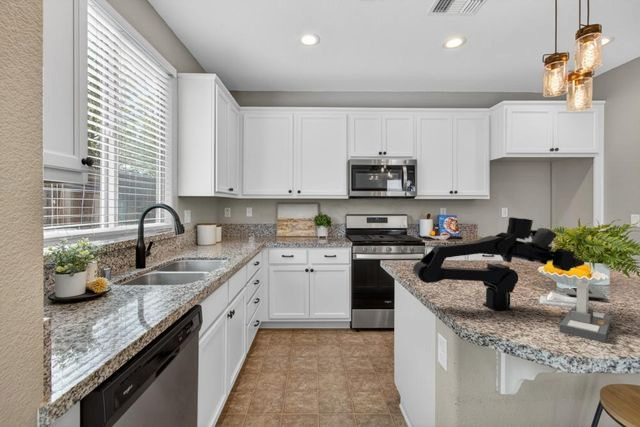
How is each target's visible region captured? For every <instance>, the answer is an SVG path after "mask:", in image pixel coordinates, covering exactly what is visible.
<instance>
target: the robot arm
mask: <svg viewBox="0 0 640 427" xmlns="http://www.w3.org/2000/svg"><path fill="white" fill-rule="evenodd" d="M533 223H534V220H533V219H529V218H518V217H514V216H512V217H511V216H510V217H509V218H508V224H507V228H506V232H499V233H498V234H496V235H488V236H484V237H481V238H478V239H477V240H474V241H467V242H460V243H459V242H458V243H452V244H450V243H449V244H444V245H443V244H442V245H440V244H436V245H435V246H434V247H432V249H431V250H430V251H429V252H427V253H426V255H424V256H423V257H422V258H421V260H420V261H418V262H416V263H415V264H414V266H413V268H412V273H413V275H414V276H415V277H416V278H417V279H419V280H420V281H421V282H422V283H425V284H430V283H431V284H432V283H438V282H441V281H446V280H451V281H465V282H466V281H470V282H482V283H483V285H484V287H486V288H485V289H486V291H485V303H484V302H483V303H482V306H484V307H486V308H488V309H491V310H494V311H497V312H501V311H513V310H514V307H511V293H513V292H514V290H515V287H516V285H517V283H518V282H519V274H518V273H517V271H516V270H514V269H512V268H511V267H510V266H508V265H504V264H500V263H495V264H493V263H489V262H487V263H486V264H487V265H486V266H487V267H484V268H479V267H477V268H476V267H457V266H456V267H455V266H443V264H444V262H445V260H446V259H447V258H455V257H462V256H463V257H464V256H470V255H480V254H482V255H492V256H500V257H501V258H502V261H504V262H507V263H510V264H511V263H512V260H513V258H514V259H520V260H525V261H527V262H532V263H539V264H543V265H547V264H548V262H549V261H550V262H551V261H552V263H551V266H552V267H553V268H554V269H558V270H561V271H565V272H570V271H571V269H574V268H578V267H581V266H584V265H585V261H583V260H581V259H580V258H577V257H575V253H574V251H572V250H568V249H564V248H557V249H556V250H555V251H552V248H553V246H552V245H551V244H552V242H553V241H554V239H555V238H557V235H558V233H555V232H554V231H552V230H551V229H549V228H544V227H540V228H536V229H535V230H534V229H532V227H533ZM529 238H531V241H525V240H526V239H529ZM521 240H524V241H521ZM550 245H551V246H550Z"/></svg>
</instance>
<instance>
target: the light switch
mask: <svg viewBox="0 0 640 427" xmlns="http://www.w3.org/2000/svg"><path fill="white" fill-rule="evenodd" d="M539 304H541V305H547V306H552V307H553V306H554V307H558V306H559V307H561V308H565V307H567V308H566V309H571V308H575V305H577V297H574V296H566V295H562V294H559V293H556V292H553V291H550V293H549V294H548V295H541V296H540V299H539Z"/></svg>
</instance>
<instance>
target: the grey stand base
mask: <svg viewBox="0 0 640 427" xmlns="http://www.w3.org/2000/svg"><path fill="white" fill-rule="evenodd" d="M576 306H577V305H575V308H572V309H571V308H570V310H569V312H568V313H567V314H566V315H565V317H564V318H563V320H561V322H560V324H559V333H562V334H566V335H571V336H575V337H579V338H584V339H587V340H592V341H596V342H599V343H605V344H606V342H607V339H608V336H609V332H610V329H611V326H612V322H613V315H612V314H607V313H601V312H597V311H594V308H592V307H588V312H587V313H582V312H576Z"/></svg>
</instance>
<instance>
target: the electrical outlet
mask: <svg viewBox="0 0 640 427" xmlns="http://www.w3.org/2000/svg"><path fill="white" fill-rule="evenodd" d="M562 289H563V290H564V292H565V294H566V296H567V297H573V298H577V288H571V289H569V288H563V287H562ZM592 299H593V300H600V301H603V300H605V299H606V297H605V296H604V295H603V294H602V293H601V292H600V291H599V290H598V289H597V288H589V298H588V300H592Z"/></svg>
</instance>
